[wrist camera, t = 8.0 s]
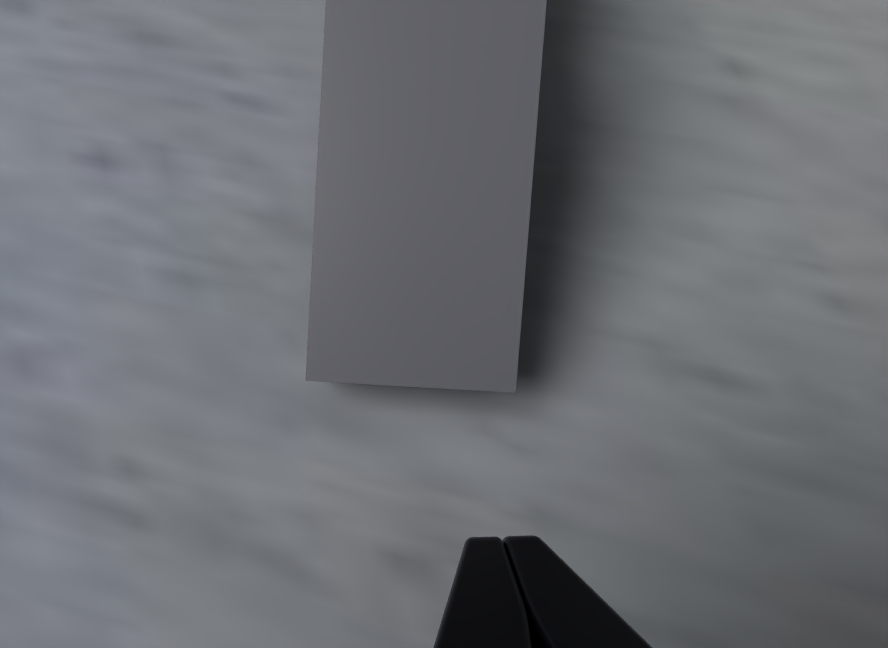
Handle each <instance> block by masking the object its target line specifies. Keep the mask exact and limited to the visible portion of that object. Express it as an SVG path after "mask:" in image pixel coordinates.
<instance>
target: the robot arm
mask: <svg viewBox="0 0 888 648" xmlns="http://www.w3.org/2000/svg"><path fill="white" fill-rule="evenodd" d="M434 648H652V647H651V646H650V645H649V644H648V643H647V642H646V641H645V640H644V639H643V638H642V637H641V636H640V635H639V634H638V633H637V632H636V631H635V630H634V629H633V628H632V627H630V626H629V625H628V624H627V623H626V622H625V621H624V620H623V619H622V618H621V617H620V616H619V615H618V614H617V613H616V612H615V611H614V610H613V609H612V608H611V607H610V606H609V605H608V604H607V603H606V602H605V601H604V600H603V599H602V598H601V597H600V596H599V595H598V594H597V593H596V592H595V591H594V590H593V589H592V588H591V587H590V586H588V585H587V584H586V583H585V582H584V581H583V580H582V579H581V578H580V577H579V576H578V575H577V574H576V573H575V572H574V571H573V570H572V569H571V568H570V567H569V566H568V565H567V564H566V563H565V562H564V561H563V560H562V559H561V558H560V557H559V556H558V555H557V554H556V553H555V552H554V551H553V550H552V549H551V548H550V547H549V546H548V545H546V544H545V543H544V542H543V541H542V540H541V539H540V538H538V537H537V536H508V537H505V538H504V539H503V541H502V540H501V539H500V538H498V537H471V538H469V539H467V540H466V542H465V545H464V548H463V552H462V555H461V558H460V562H459V565H458V568H457V572H456V575H455V578H454V582H453V585H452V588H451V592H450V595H449V598H448V601H447V605H446V608H445V611H444V615H443V618H442V621H441V625H440V628H439V631H438V635H437V638H436V641H435V645H434Z"/></svg>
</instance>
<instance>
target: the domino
mask: <svg viewBox="0 0 888 648" xmlns="http://www.w3.org/2000/svg"><path fill="white" fill-rule="evenodd" d="M546 3H547V0H326V12H325V30H324V49H323V68H322V86H321V105H320V124H319V142H318V161H317V179H316V198H315V217H314V235H313V254H312V273H311V291H310V310H309V329H308V347H307V366H306V381H319V382H336V383H354V384H371V385H388V386H406V387H423V388H440V389H458V390H475V391H492V392H510V393H516V383H517V370H518V358H519V345H520V332H521V320H522V307H523V294H524V282H525V269H526V256H527V244H528V231H529V218H530V206H531V193H532V180H533V168H534V155H535V142H536V130H537V117H538V105H539V92H540V79H541V67H542V54H543V41H544V29H545V16H546Z"/></svg>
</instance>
